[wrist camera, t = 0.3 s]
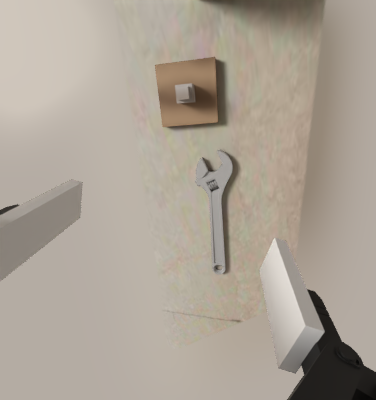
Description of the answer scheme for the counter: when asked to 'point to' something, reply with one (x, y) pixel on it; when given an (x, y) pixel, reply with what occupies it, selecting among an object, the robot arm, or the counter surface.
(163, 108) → the drive block
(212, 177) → the adjustable wrench
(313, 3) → the counter surface
